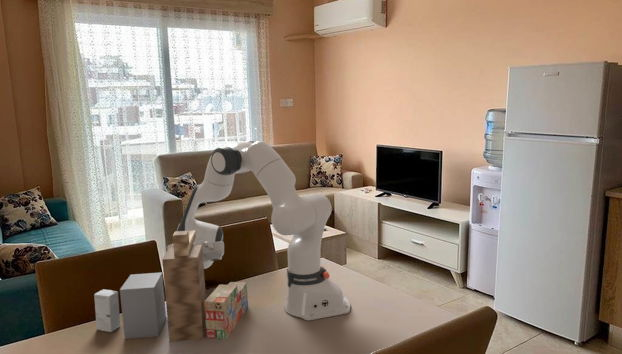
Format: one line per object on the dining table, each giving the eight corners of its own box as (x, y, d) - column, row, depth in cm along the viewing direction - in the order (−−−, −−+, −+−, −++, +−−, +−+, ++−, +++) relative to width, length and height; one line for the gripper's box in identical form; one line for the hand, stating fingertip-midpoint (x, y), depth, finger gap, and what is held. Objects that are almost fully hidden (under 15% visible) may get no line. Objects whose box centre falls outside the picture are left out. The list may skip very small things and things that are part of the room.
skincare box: (96, 330, 142) (92, 294, 140) (106, 323, 146) (102, 288, 144) (112, 332, 140) (108, 296, 138) (121, 325, 144) (118, 290, 142)
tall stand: (207, 319, 147) (202, 244, 143) (203, 338, 135) (197, 257, 131) (176, 322, 146) (170, 246, 141) (169, 341, 134) (162, 259, 130)
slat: (195, 237, 150) (194, 218, 149) (187, 255, 132) (186, 234, 131) (183, 238, 150) (182, 219, 148) (174, 256, 132) (172, 235, 131)
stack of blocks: (231, 306, 157) (229, 273, 154) (248, 307, 155) (246, 274, 153) (206, 338, 136) (203, 300, 134) (225, 339, 135) (223, 301, 133)
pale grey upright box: (166, 317, 149) (162, 272, 147) (158, 336, 138) (154, 287, 135) (135, 320, 148) (130, 274, 145) (124, 338, 136) (119, 289, 134)
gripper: (171, 246, 169) (163, 238, 156) (225, 242, 172) (222, 234, 159) (170, 262, 167) (162, 256, 154) (226, 259, 170) (222, 251, 157)
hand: (193, 245), depth 157 cm, fingers open, 8 cm apart
